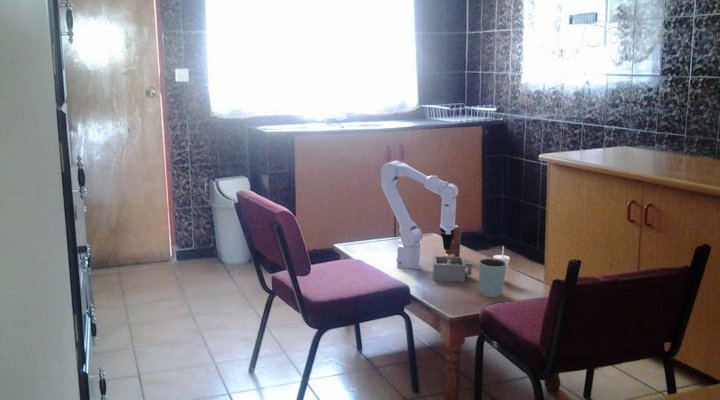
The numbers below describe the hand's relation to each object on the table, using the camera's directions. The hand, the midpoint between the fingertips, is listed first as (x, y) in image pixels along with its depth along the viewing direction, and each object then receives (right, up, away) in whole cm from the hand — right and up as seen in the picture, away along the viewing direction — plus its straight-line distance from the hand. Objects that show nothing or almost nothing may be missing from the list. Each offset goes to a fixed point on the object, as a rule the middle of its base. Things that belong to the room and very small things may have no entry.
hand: (446, 247), depth 293 cm
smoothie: (+20, -13, -8) cm, 25 cm away
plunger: (0, -7, -6) cm, 9 cm away
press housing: (+2, -11, -5) cm, 12 cm away
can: (+5, -6, +22) cm, 24 cm away
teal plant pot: (+14, -16, -24) cm, 31 cm away
